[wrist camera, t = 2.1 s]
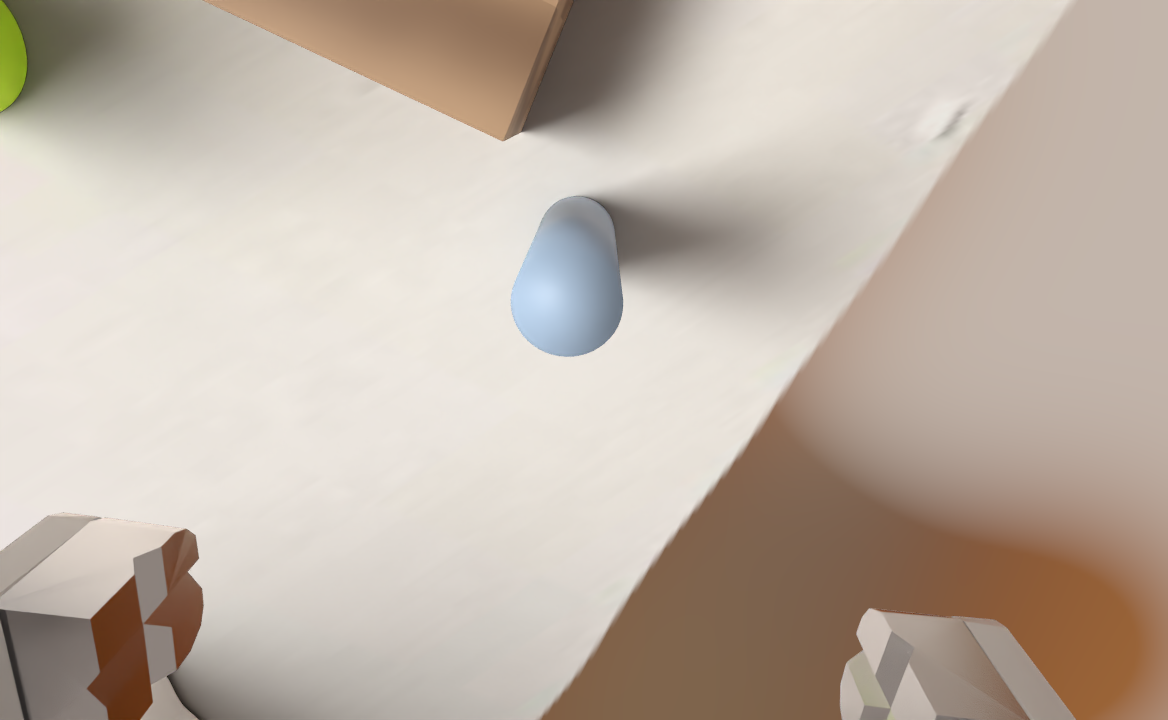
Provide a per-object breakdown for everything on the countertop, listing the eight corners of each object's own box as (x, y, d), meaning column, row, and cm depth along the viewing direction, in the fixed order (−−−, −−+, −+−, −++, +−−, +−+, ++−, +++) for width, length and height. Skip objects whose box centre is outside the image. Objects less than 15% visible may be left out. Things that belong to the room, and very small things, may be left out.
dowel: (595, 283, 32) (594, 373, 22) (527, 252, 32) (494, 330, 21) (627, 216, 31) (642, 277, 21) (557, 183, 30) (537, 229, 20)
